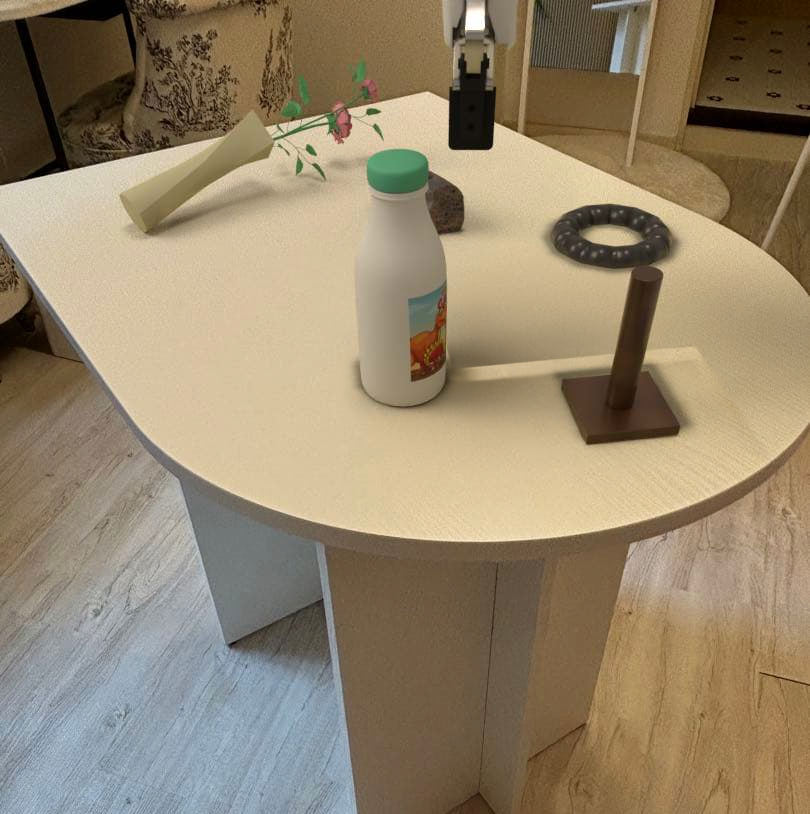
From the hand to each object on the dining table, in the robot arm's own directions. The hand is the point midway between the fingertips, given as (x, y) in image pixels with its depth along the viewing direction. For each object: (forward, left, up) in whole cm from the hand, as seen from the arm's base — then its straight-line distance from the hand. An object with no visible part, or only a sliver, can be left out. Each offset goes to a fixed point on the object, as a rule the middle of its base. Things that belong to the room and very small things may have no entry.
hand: (471, 123), depth 61 cm
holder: (-12, +10, -21) cm, 26 cm away
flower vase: (+19, -40, -21) cm, 49 cm away
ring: (-20, -18, -19) cm, 33 cm away
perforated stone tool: (+1, -28, -21) cm, 35 cm away
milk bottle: (+6, +3, -21) cm, 22 cm away
